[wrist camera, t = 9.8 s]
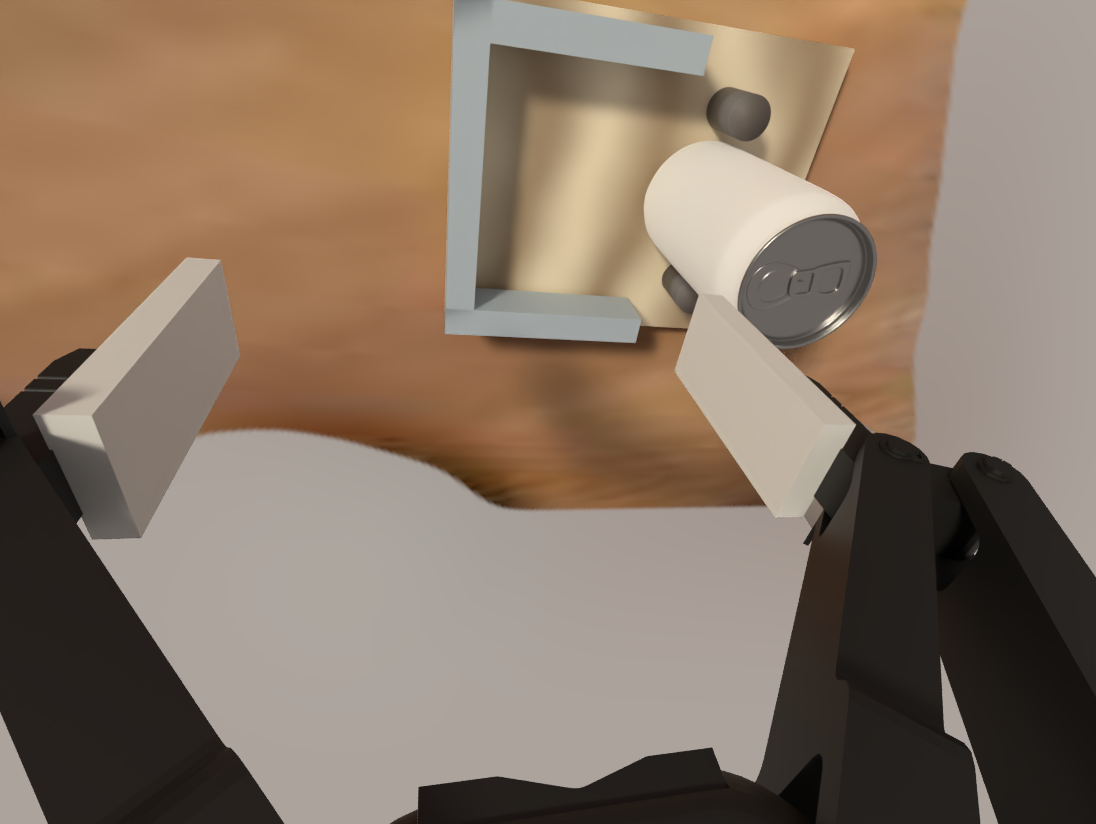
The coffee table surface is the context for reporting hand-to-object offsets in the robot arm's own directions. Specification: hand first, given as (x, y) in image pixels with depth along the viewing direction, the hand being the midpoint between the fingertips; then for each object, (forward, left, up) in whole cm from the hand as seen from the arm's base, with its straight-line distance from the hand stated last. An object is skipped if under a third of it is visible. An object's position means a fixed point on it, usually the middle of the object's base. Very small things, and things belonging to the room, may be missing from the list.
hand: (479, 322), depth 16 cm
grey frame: (+5, 0, -16) cm, 17 cm away
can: (+13, 0, -16) cm, 21 cm away
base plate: (+9, 0, -18) cm, 20 cm away
